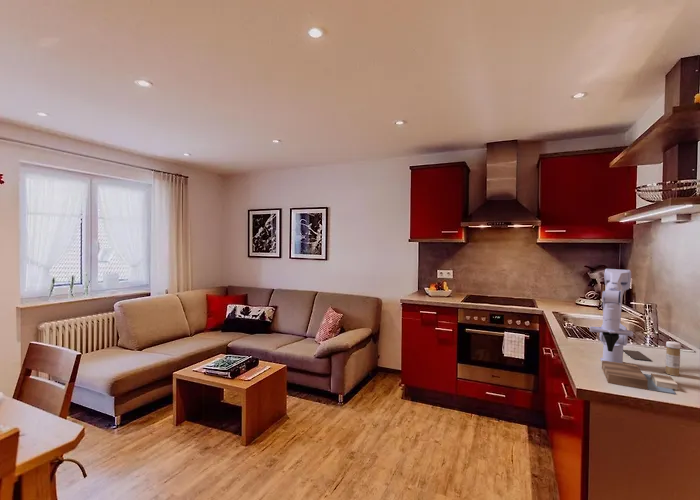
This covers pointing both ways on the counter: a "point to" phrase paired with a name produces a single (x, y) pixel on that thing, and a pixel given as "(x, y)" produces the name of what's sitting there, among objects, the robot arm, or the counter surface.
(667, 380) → the cream block
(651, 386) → the mat
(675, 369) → the sprinkles bottle
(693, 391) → the counter surface
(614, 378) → the deck
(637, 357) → the smartphone
